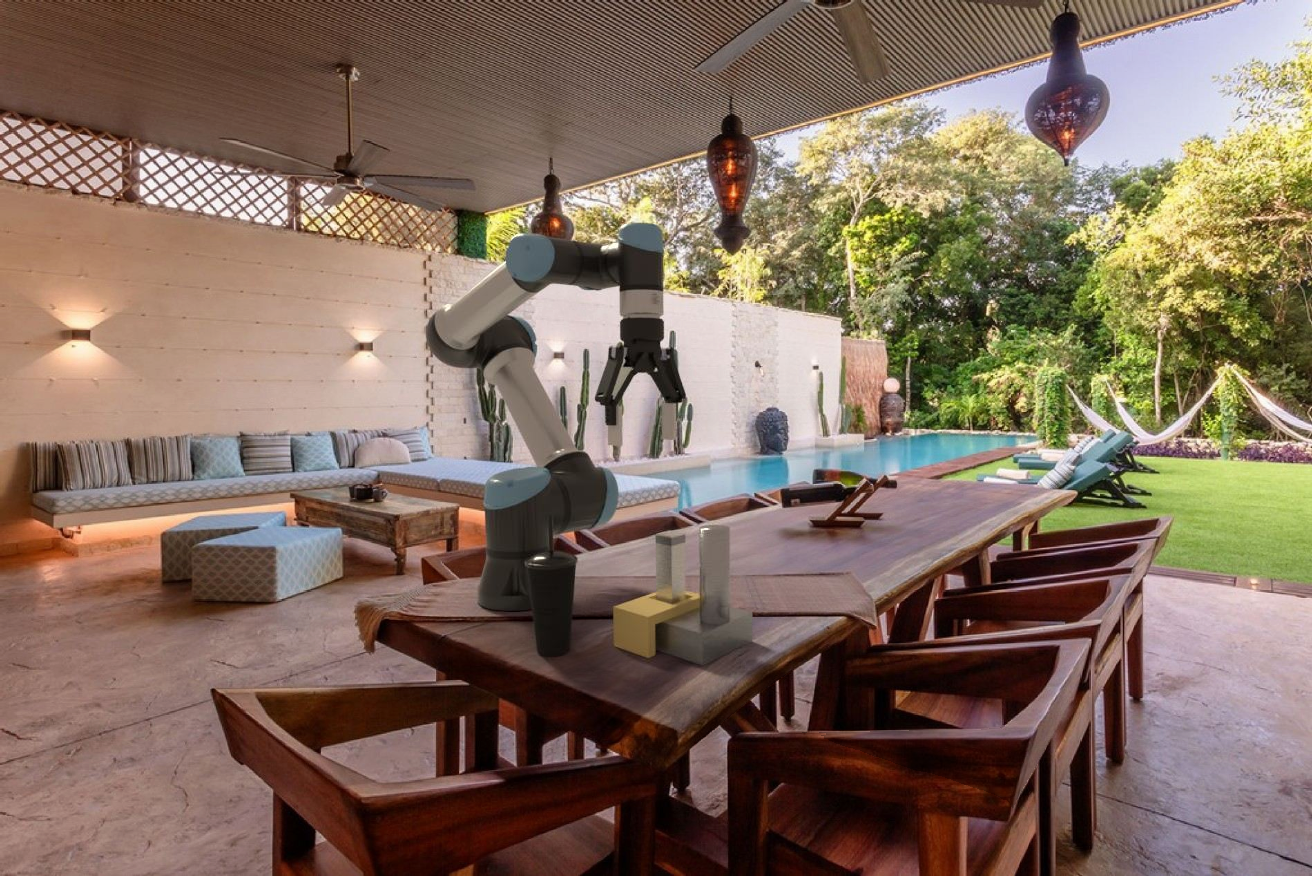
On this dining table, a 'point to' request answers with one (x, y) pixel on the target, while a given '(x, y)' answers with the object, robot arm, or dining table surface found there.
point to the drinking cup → (552, 597)
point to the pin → (670, 567)
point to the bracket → (646, 621)
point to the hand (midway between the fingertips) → (643, 442)
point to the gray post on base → (708, 608)
